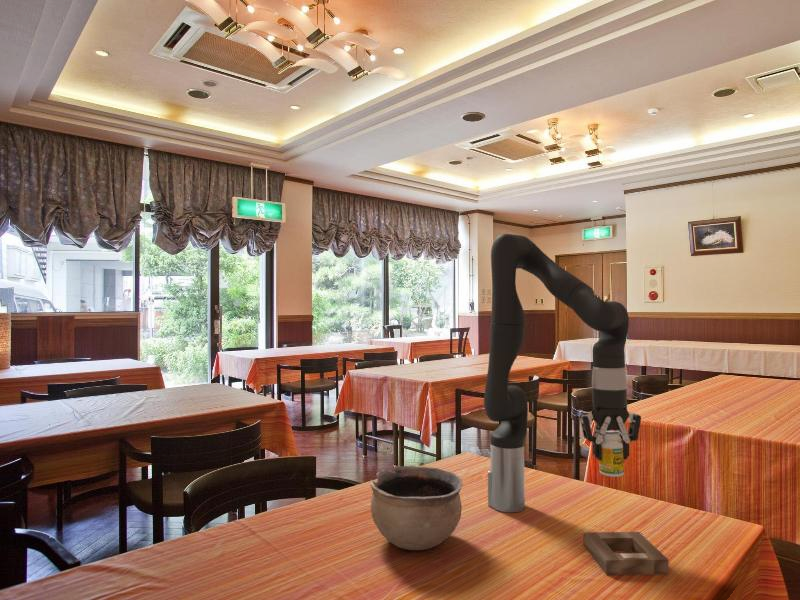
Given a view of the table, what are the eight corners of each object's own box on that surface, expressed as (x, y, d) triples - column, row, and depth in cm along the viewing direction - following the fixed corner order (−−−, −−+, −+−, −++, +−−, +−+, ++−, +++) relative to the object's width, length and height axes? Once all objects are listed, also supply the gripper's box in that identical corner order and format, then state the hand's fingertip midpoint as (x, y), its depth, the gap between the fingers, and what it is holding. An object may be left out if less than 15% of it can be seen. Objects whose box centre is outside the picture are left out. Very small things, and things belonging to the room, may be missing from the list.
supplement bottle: (608, 468, 124) (607, 428, 124) (628, 474, 120) (627, 432, 120) (594, 472, 121) (593, 431, 121) (615, 478, 116) (614, 436, 117)
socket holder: (606, 574, 107) (606, 559, 107) (583, 545, 120) (583, 531, 120) (668, 574, 107) (668, 558, 107) (639, 544, 120) (638, 530, 120)
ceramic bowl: (396, 516, 137) (396, 460, 137) (475, 531, 127) (474, 471, 127) (353, 553, 117) (352, 487, 117) (442, 574, 107) (442, 502, 108)
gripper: (585, 389, 117) (586, 464, 116) (647, 388, 117) (649, 462, 117) (573, 384, 124) (574, 455, 124) (631, 383, 125) (633, 453, 124)
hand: (611, 458), depth 120 cm, fingers closed on supplement bottle, 5 cm apart
